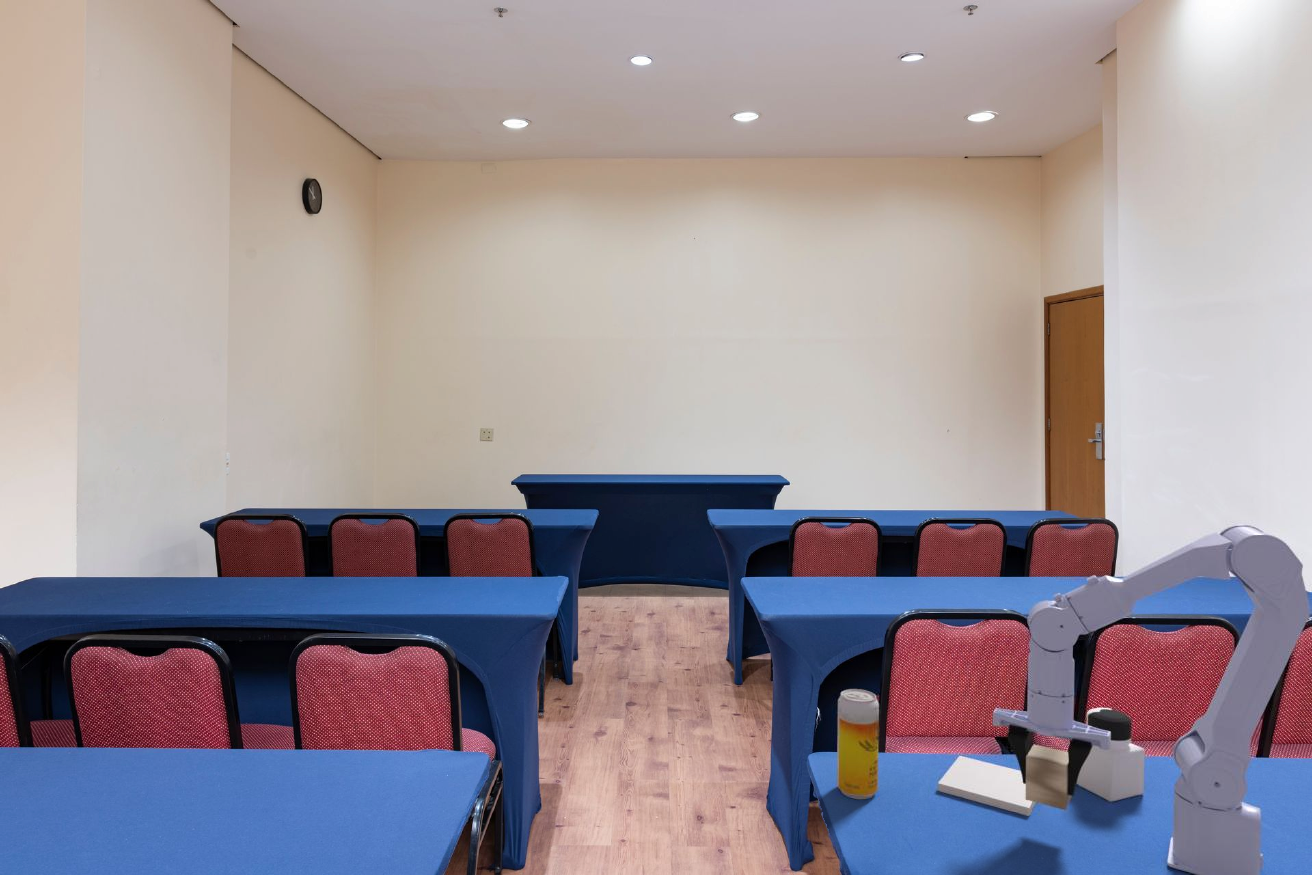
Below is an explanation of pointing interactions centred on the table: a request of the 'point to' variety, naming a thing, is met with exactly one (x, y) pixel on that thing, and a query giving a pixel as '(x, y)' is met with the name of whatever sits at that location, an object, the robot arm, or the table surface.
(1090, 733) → the robot arm
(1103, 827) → the table surface
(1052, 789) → the maple block
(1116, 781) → the medicine bottle
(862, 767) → the beer can
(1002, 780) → the white board
